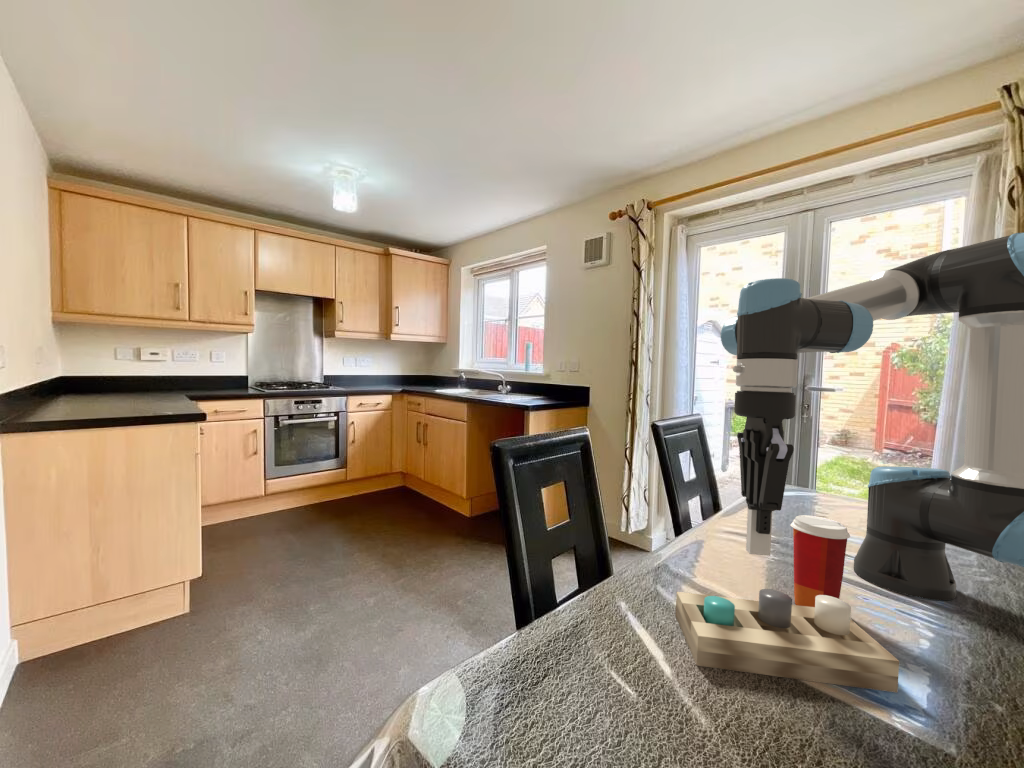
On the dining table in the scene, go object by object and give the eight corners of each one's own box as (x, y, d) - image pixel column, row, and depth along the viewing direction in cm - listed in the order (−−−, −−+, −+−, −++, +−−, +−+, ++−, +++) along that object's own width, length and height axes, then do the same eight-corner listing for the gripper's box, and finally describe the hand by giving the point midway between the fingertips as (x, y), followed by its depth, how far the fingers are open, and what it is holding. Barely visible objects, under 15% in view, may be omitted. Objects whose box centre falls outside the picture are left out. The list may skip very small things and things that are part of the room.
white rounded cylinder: (838, 620, 62) (839, 596, 62) (856, 637, 58) (858, 611, 58) (808, 617, 62) (809, 593, 62) (824, 633, 58) (825, 607, 58)
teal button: (727, 620, 64) (729, 597, 64) (737, 636, 60) (739, 611, 60) (699, 617, 64) (700, 594, 64) (707, 632, 60) (709, 608, 60)
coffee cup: (834, 601, 76) (839, 518, 76) (854, 626, 68) (859, 533, 68) (780, 592, 79) (784, 511, 78) (793, 614, 71) (798, 525, 71)
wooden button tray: (838, 635, 65) (840, 610, 65) (897, 692, 53) (899, 661, 53) (675, 616, 69) (676, 591, 69) (696, 665, 57) (698, 635, 57)
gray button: (782, 614, 63) (783, 590, 63) (796, 629, 59) (797, 604, 59) (753, 610, 63) (754, 587, 63) (765, 626, 59) (766, 601, 59)
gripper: (721, 387, 68) (716, 534, 68) (755, 390, 55) (747, 570, 56) (772, 389, 67) (766, 538, 67) (818, 392, 54) (810, 576, 54)
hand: (758, 552), depth 61 cm, fingers closed
